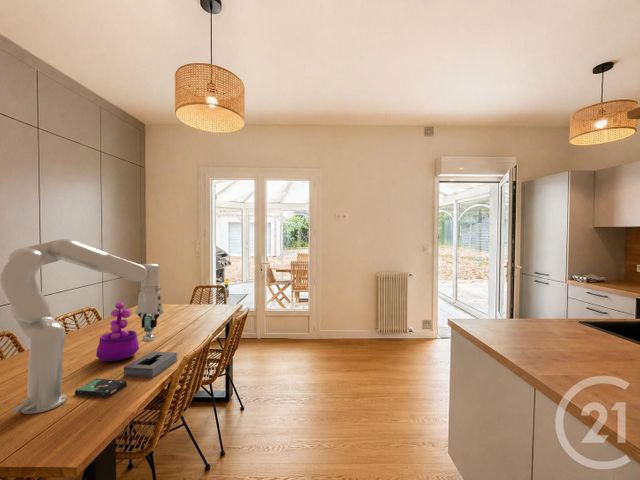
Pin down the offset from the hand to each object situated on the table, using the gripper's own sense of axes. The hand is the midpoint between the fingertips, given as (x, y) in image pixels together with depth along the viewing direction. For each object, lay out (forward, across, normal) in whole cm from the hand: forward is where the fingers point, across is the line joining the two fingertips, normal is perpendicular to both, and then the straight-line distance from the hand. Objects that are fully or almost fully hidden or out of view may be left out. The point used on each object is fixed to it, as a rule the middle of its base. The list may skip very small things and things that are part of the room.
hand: (149, 326), depth 139 cm
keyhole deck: (+22, +1, -4) cm, 22 cm away
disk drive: (+22, +7, +19) cm, 30 cm away
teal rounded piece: (+6, 0, 0) cm, 6 cm away
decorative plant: (+22, +26, -12) cm, 36 cm away
